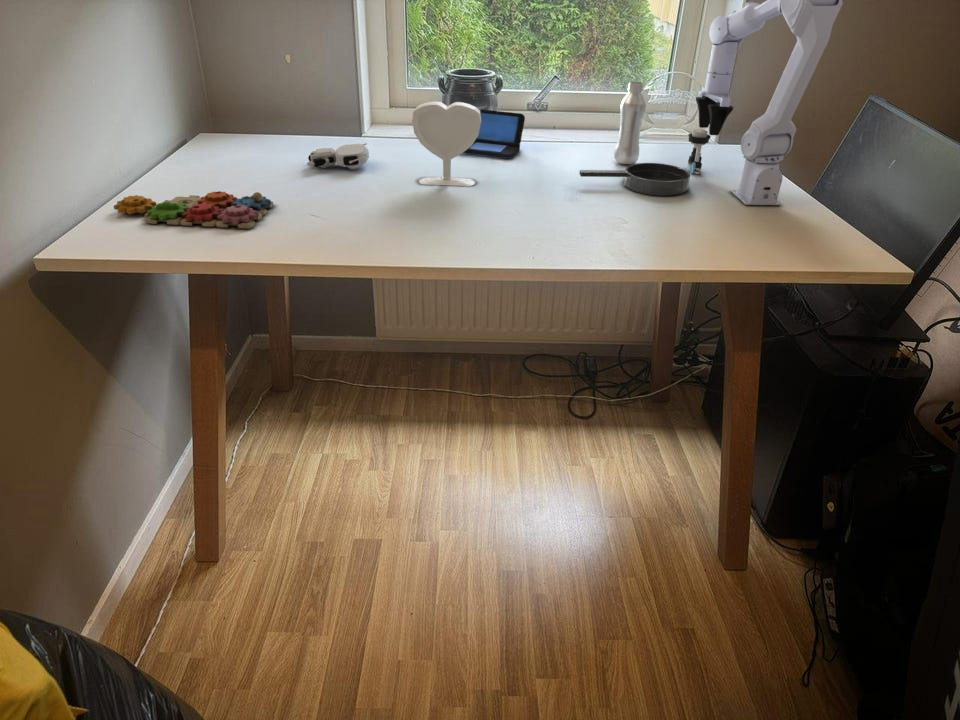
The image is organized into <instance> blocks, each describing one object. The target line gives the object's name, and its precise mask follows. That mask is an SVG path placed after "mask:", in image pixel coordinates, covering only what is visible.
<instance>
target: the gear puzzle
mask: <svg viewBox="0 0 960 720" xmlns="http://www.w3.org/2000/svg"><path fill="white" fill-rule="evenodd" d="M273 206H274V202H273V201H272V200H271V199H269V198H267V197H266V196H263V194H262V193H261V192H258V191H256V192H254V193H253V194H252V195H250V196H249V195H244V196H242V197H241V198H238V197H236V196H234V194H229V193H227V192H226V191H221V190H219V191H211V192H208V193H206V194H205V196H201V197H200V195H194V194H190V195H189V196H175V197H173V199H171V200H169V199H165V200H163V202H159V203H157V202H156V201H154V200H152V198H151V197H150V198H147V197H144V196H143V195H138V194H136V195H128V196H125V197H123V198H122V199H121V200H118V201H116V204H114V205H113V210H115V211H117V213H118V214H123V213H127V214H128V215H133V214H135V213H140V214H144V213H145V214H144V220H145V223H146V224H154V225H157V224H158V223H161V222H163V223H166V224H167V225H172V226H178V225H181V226H189V227H191V226H193V225H195V224H198V225H201V226H202V227H207V228H210V227H211V228H213V227H217V228H229V226H234V227H235V226H236V227H237V229H245V230H246V229H247V230H249V229H252V228H253V227H254V226H255V224H256V222H255V221H260V220H261V219H262V218H263V216H265V214H267V212H268V211H267V209H272V207H273Z"/></svg>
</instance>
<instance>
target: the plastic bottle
mask: <svg viewBox="0 0 960 720" xmlns="http://www.w3.org/2000/svg"><path fill="white" fill-rule="evenodd" d="M627 86H628V87H627V91H628V92H627V93H626V95H625V96H624V97H623V99H622V100H621V101H620V106H619V107H620V110H619V111H620V112H619V113H620V114H619V115H620V117H619V118H620V121H619V131H618V136H617V141H616V146H615V147H614V148H615V149H614V152H613V156H614V157H613V158H614V161H615V162H616V163H619V164H622V165H633V164H636V163H637V161H638V160H639V156H640V136H641V128H642V123H643V119H644V116H645V111H646V109H647V104H646V100H645V97H644V95H643V94H642V92H643V91H644V82H641V81H629V82H628V85H627Z"/></svg>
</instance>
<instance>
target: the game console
mask: <svg viewBox="0 0 960 720" xmlns="http://www.w3.org/2000/svg"><path fill="white" fill-rule="evenodd" d="M478 109H479V110H480V115H481V124H480V130H479V135H478V137H477V138H476V140H475V141H474V143H473V144H472V146H471V147H469V148H468V149H467V150H466V151H464V152H463V153H462V154H465V155H473V156H481V157H489V158H490V157H491V158H496V159H497V158H498V159H506V160H507V159H509V160H510V159H512V158H514V156H515V155H517V154H518V152H520V151H521V143H522V138H523V131H524V126H525V122H526V120H525V119H526V117H525V115H524V114H523V113H518V112H510V111H502V110H501V111H499V110H490V109H482V108H478Z"/></svg>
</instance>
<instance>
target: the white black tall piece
mask: <svg viewBox="0 0 960 720" xmlns="http://www.w3.org/2000/svg"><path fill="white" fill-rule="evenodd" d="M711 136H712V135H709V131H707V130H705V129H693V130H692V132H690V133H688V135H687V137H688V142H689V143H690V144H691V145H693V147H692V151H691V153H690V155H689V156H688V161H687V166H686V171H688V172H689V173H690V174H691V175H694V174H695V175H700V171H701V170H702V166H703V163H702V159H703V157H702V156H701V155H702V153H701V151H702V147H703V146H705V145H706V144H708V143H709V141H710V139H711Z"/></svg>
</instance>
